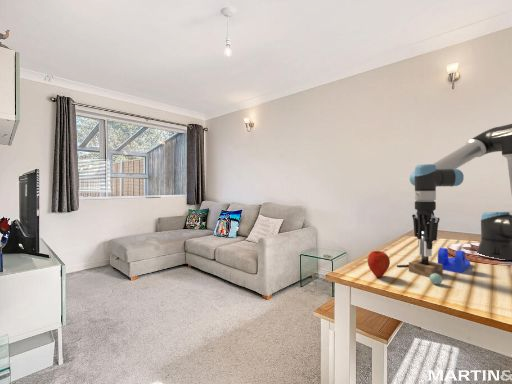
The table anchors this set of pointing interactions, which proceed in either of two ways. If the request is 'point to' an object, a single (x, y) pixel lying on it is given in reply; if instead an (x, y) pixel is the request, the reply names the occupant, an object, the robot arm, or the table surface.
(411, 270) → the square wooden ring
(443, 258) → the bracket
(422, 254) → the grey metal cylinder rod
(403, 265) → the thin dark grey rod
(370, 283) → the table surface
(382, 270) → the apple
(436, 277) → the loose teal bead
